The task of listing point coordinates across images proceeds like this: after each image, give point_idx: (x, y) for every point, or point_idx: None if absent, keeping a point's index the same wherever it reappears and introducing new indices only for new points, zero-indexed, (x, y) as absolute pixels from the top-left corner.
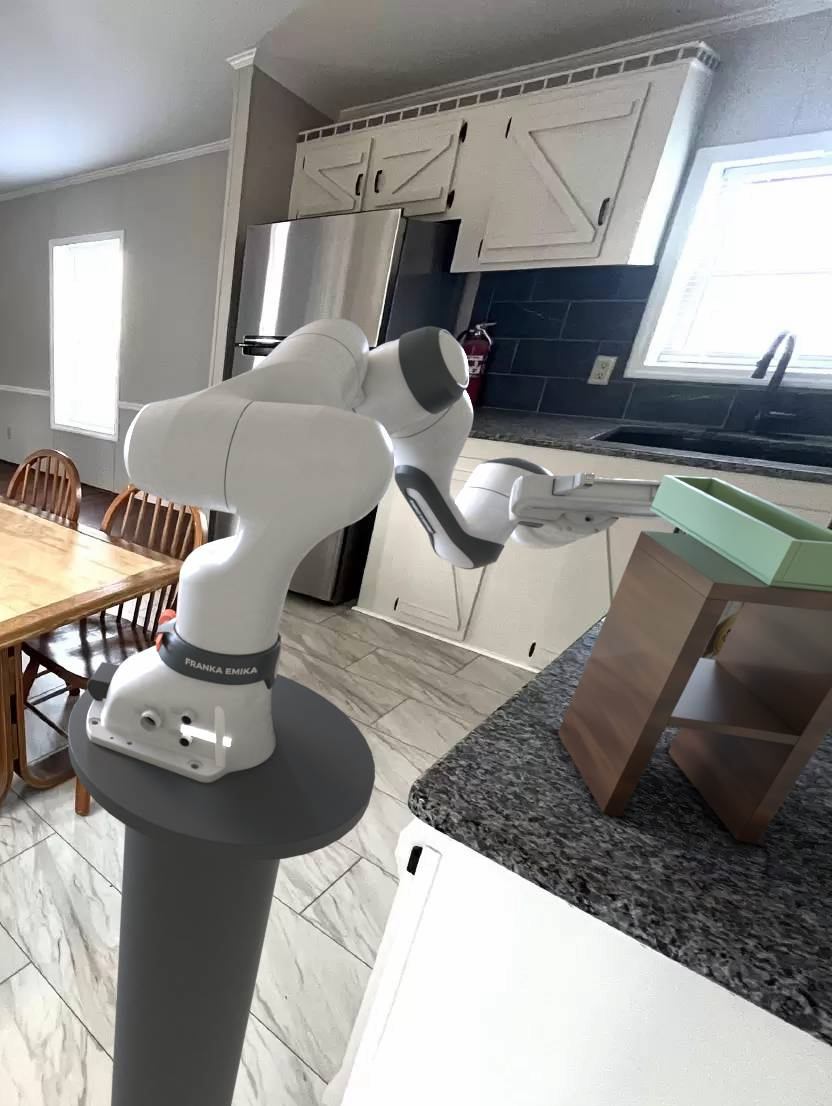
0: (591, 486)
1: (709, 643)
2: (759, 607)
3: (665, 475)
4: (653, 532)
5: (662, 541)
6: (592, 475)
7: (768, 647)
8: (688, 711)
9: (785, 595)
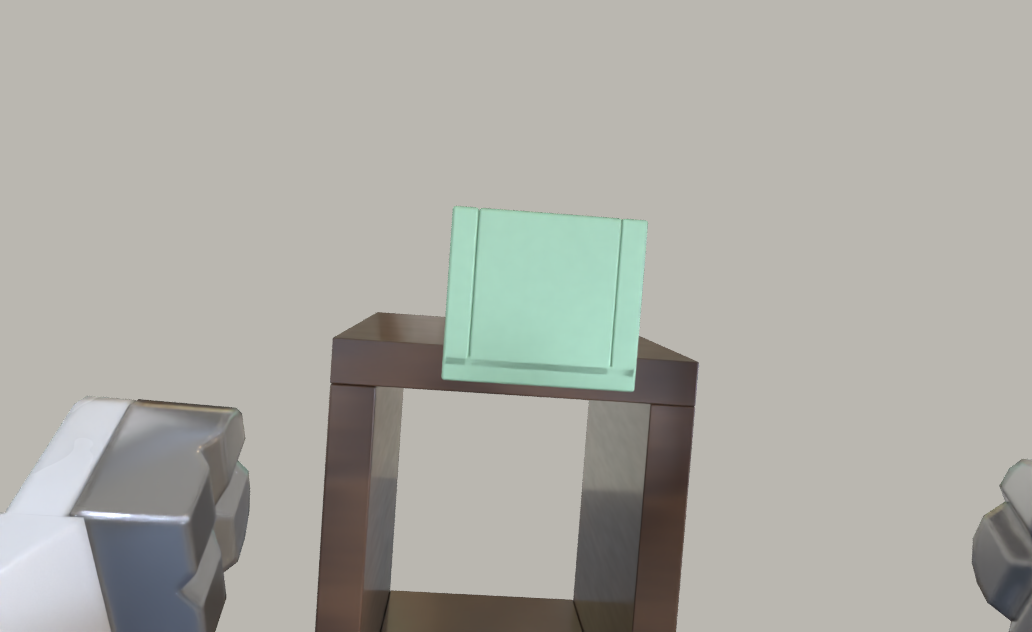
0: (979, 582)
1: None
2: (374, 510)
3: (644, 220)
4: (670, 358)
5: (662, 350)
6: (1027, 473)
7: (379, 552)
8: (539, 608)
9: None
